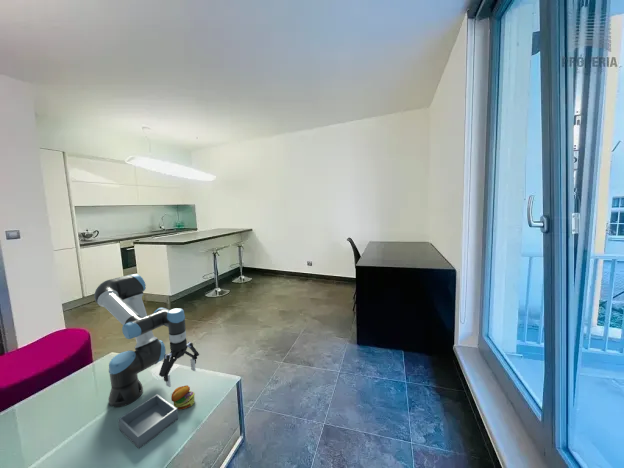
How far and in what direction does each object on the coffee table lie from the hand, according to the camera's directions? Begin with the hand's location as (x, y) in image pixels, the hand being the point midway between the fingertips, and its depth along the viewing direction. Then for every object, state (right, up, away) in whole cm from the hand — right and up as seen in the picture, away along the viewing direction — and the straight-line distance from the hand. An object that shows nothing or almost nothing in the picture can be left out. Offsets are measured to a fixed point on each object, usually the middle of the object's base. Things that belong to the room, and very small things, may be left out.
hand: (181, 377), depth 135 cm
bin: (-10, -17, -10) cm, 22 cm away
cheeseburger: (0, -15, +3) cm, 15 cm away
